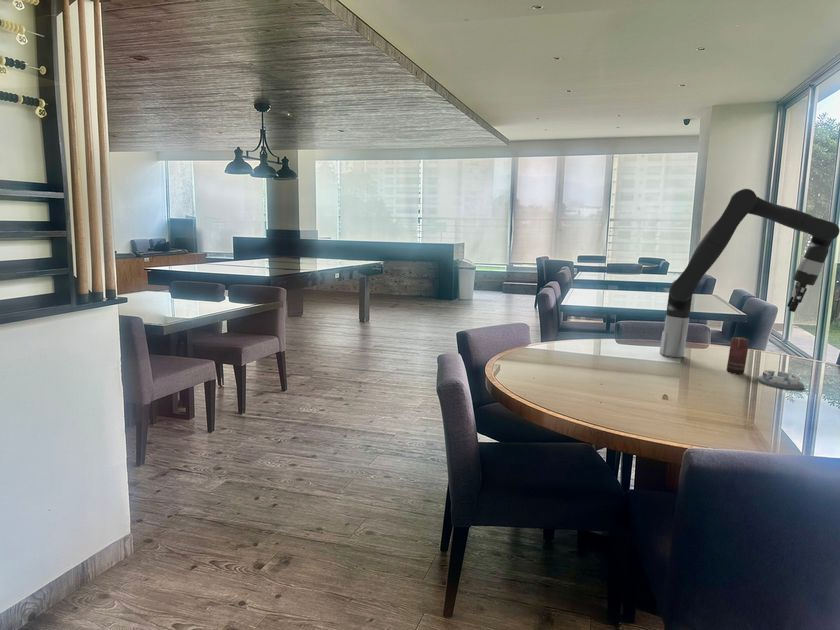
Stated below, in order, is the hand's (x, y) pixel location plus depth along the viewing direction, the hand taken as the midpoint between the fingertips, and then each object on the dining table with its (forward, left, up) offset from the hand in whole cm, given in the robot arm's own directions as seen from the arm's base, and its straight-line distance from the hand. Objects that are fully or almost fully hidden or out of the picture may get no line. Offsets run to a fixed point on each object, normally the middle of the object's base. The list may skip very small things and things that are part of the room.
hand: (790, 309), depth 232 cm
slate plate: (-9, -25, -25) cm, 37 cm away
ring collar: (-9, -25, -25) cm, 37 cm away
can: (-21, -14, -25) cm, 36 cm away
